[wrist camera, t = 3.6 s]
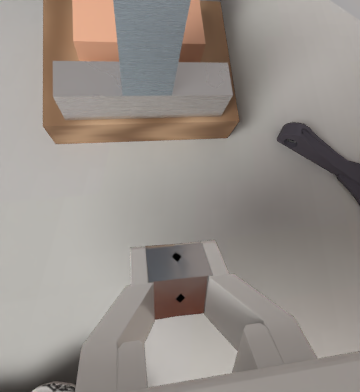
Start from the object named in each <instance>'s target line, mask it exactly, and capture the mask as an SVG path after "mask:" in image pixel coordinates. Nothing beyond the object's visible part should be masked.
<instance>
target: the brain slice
mask: <svg viewBox="0 0 360 392" xmlns="http://www.w3.org/2000/svg"><path fill="white" fill-rule="evenodd" d="M75 388H76V385H75V384H72V383H66V382H58V381H54V382H50V383H46V384H42V385H40V386H38V387H37V388H35V389H34V390H33V391H32V392H75Z"/></svg>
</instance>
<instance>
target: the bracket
mask: <svg viewBox="0 0 360 392" xmlns="http://www.w3.org/2000/svg"><path fill="white" fill-rule="evenodd" d="M287 139H290V140H292V141H296V143H293V142H290V141H288V140H287ZM277 141H278V142H280V143H282V144H283V145H285V146H287V147H288V148H290V149H292V150H294V151H295V152H297V153H299V154H300V155H302V156H304V157H306V158H307V159H309V160H311V161H312V162H314V163H316V164H318V165H319V166H321V167H323V168H324V169H326V170H328V171H329V172H331V173H333V174H335V175H336V176H337V178H338V179H339V181H340V182H341V183H342V184H343V185H344V186H345V187H346V188H347V189H348V190H349V191H350V192H351V193H352V195H353V196H354V197H355V199H356V200H357V201H358V203H359V204H360V164H359V163H355V162H352V161H348V160H346V159H345V158H344V157H342V156H341V155H339V154H338V153H337V152H335V151H334V150H333V149H332V148H331V147H330V146H328V145H327V144H326V143H325V142H324V141H323V140H321V139H320V138H319V137H318V136H317V135H316V134H315V133H314V132H313V131H312V130H311V129H310V128H309V127H308V126H306V125H305V124H302V123H288V124H285V125H284V126H283V128H282V130H281V132H280V134H279V136H278V138H277Z"/></svg>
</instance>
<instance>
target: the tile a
mask: <svg viewBox="0 0 360 392" xmlns="http://www.w3.org/2000/svg"><path fill="white" fill-rule="evenodd" d="M72 9H73V42H74V45H75V49H76V52H77V55H78V59H79V61H115V62H119V53H118V44H117V34H116V24H115V14H114V4H113V0H72Z"/></svg>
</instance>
